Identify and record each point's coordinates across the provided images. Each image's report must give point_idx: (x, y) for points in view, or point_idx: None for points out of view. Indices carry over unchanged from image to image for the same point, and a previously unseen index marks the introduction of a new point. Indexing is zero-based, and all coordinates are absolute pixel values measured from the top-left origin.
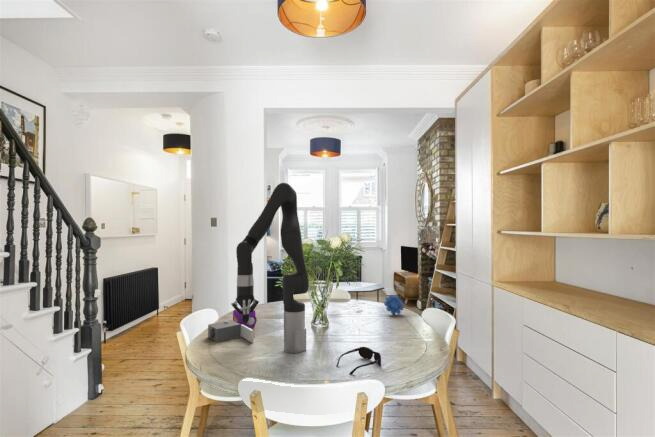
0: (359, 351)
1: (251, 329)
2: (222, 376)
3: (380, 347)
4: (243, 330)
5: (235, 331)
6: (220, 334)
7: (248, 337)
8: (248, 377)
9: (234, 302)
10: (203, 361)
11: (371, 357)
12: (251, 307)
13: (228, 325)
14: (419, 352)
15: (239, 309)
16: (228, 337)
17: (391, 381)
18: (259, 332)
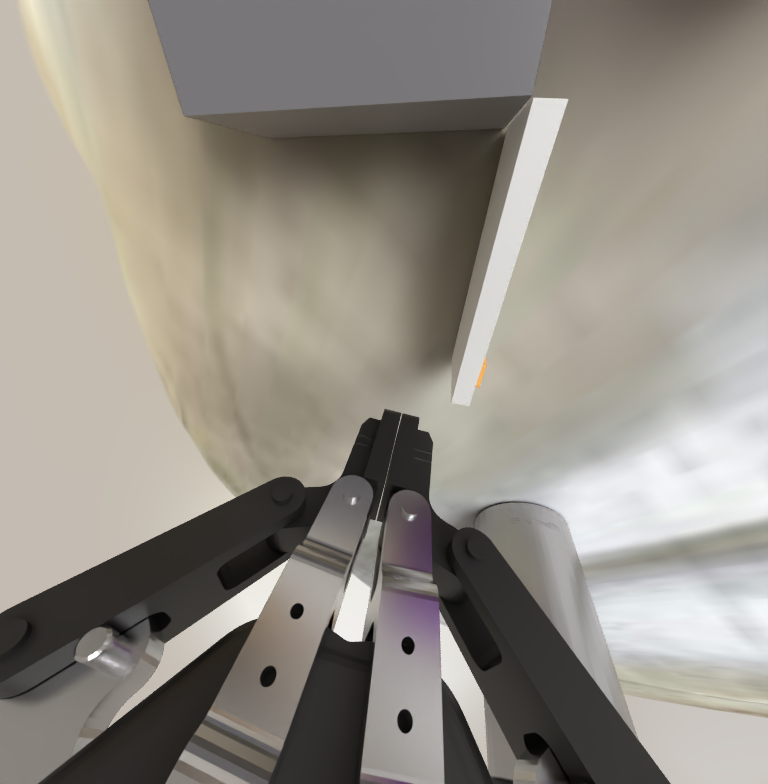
0: None
1: (473, 381)
2: (240, 491)
3: (697, 655)
4: (494, 216)
5: (444, 119)
6: (266, 126)
7: (462, 323)
8: None
9: (17, 740)
10: (188, 384)
11: None
12: (499, 618)
13: (353, 14)
14: (691, 690)
15: (244, 584)
16: (368, 132)
17: None
18: (754, 142)
